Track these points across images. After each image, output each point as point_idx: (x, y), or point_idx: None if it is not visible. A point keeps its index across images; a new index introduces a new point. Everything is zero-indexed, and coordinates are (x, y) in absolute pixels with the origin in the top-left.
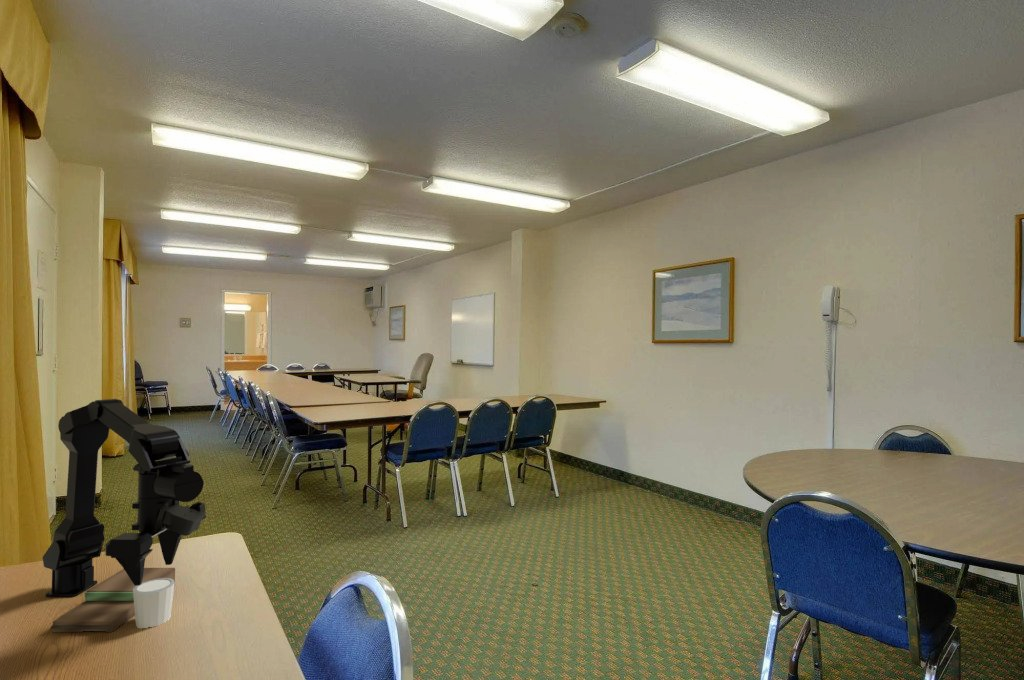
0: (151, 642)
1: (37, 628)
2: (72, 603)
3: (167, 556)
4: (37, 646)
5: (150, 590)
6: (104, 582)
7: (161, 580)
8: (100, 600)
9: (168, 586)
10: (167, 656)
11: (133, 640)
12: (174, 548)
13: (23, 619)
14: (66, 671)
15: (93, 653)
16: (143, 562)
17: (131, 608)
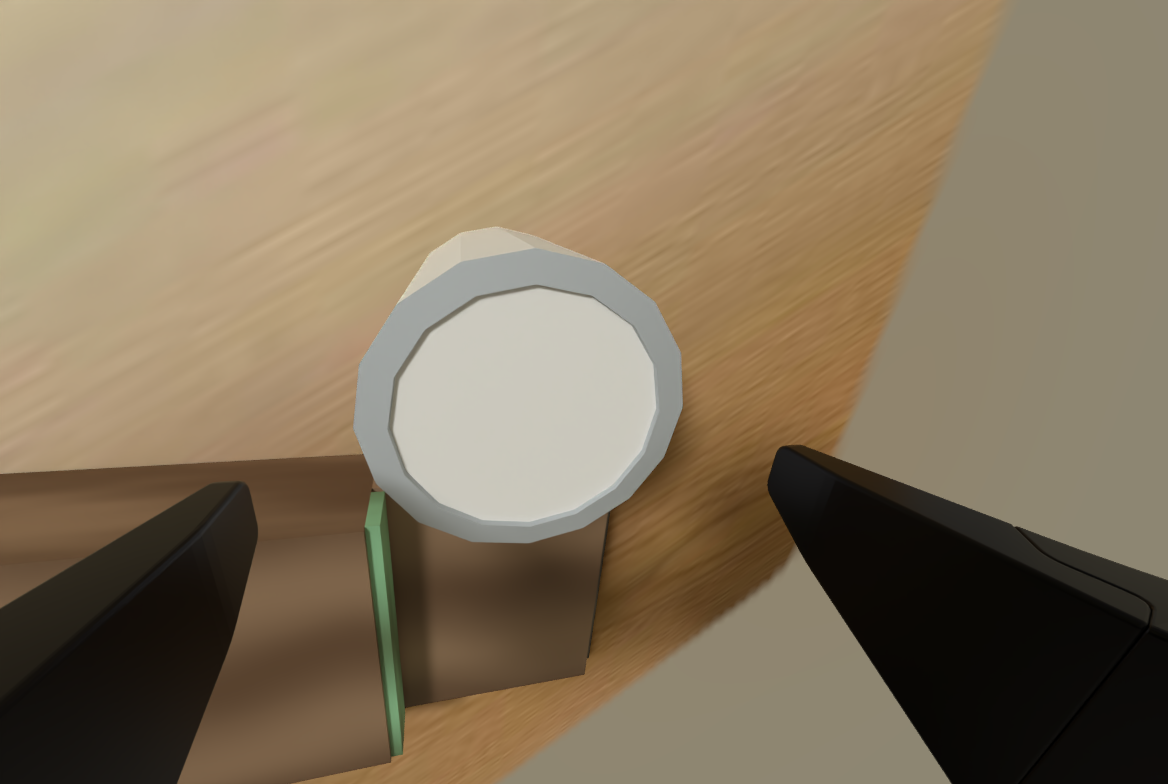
0: (730, 187)
1: (539, 693)
2: None
3: (211, 609)
4: (663, 604)
5: (626, 387)
6: (272, 773)
7: (415, 422)
8: (399, 662)
9: (567, 269)
10: (896, 2)
11: (690, 296)
12: (67, 659)
13: (473, 771)
14: (854, 405)
15: (759, 397)
16: (1110, 586)
17: None
